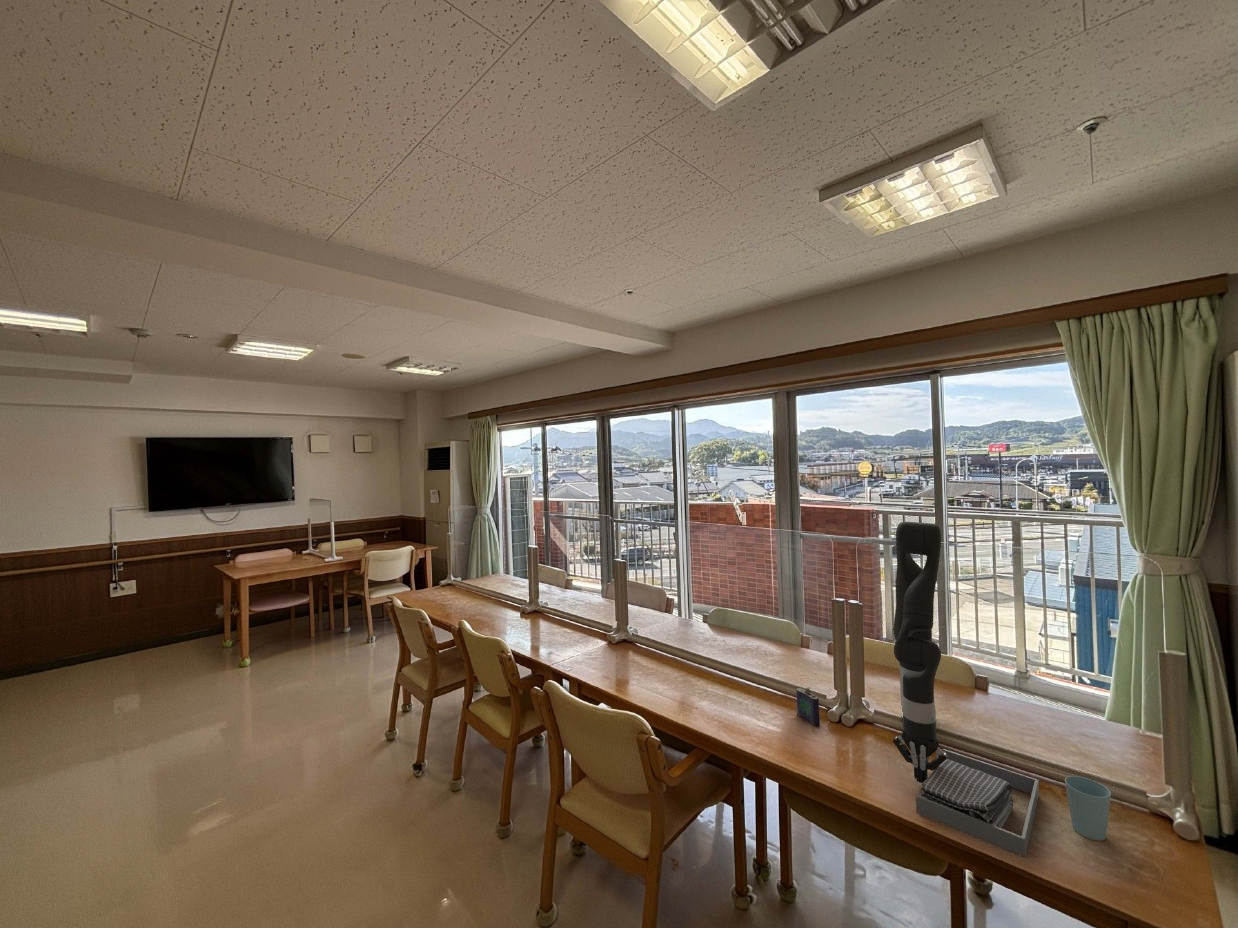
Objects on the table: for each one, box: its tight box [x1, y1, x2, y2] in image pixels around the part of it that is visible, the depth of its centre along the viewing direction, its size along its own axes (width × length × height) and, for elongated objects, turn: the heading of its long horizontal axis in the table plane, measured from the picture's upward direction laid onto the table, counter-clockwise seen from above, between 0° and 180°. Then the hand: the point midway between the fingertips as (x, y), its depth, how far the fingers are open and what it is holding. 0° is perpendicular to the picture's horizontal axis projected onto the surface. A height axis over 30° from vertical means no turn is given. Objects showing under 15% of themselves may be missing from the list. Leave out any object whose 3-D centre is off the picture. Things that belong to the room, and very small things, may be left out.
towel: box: [920, 759, 1015, 829], centre depth 122 cm, size 15×18×8 cm
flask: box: [795, 687, 821, 728], centre depth 165 cm, size 9×3×11 cm, turn 24°
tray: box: [915, 748, 1040, 858], centre depth 123 cm, size 27×21×4 cm
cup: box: [1064, 775, 1112, 842], centre depth 113 cm, size 8×8×10 cm
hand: (920, 780), depth 131 cm, fingers closed
